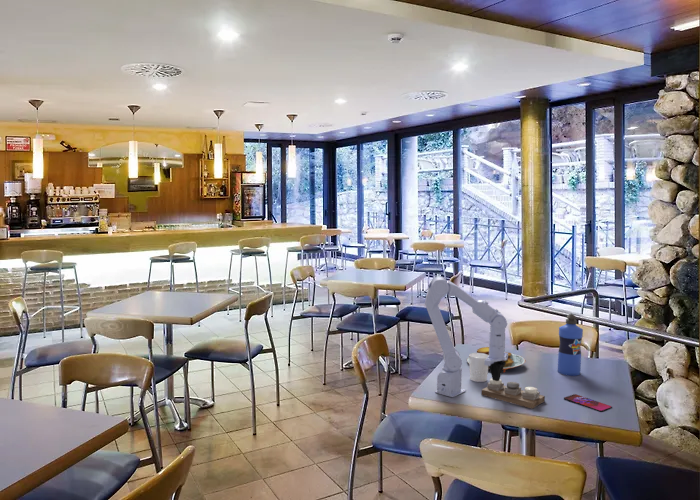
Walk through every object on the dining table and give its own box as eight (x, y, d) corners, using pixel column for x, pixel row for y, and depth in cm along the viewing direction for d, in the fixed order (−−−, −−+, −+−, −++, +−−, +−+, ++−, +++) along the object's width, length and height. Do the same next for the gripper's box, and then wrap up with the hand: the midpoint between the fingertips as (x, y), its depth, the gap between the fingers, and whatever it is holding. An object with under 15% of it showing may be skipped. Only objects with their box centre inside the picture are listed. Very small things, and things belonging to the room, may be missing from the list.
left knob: (498, 391, 207) (498, 382, 207) (487, 388, 210) (487, 380, 210) (503, 388, 211) (504, 379, 210) (493, 385, 214) (493, 377, 213)
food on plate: (517, 377, 231) (517, 362, 230) (459, 368, 243) (459, 353, 242) (530, 361, 253) (530, 347, 252) (476, 353, 265) (476, 340, 264)
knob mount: (532, 408, 196) (533, 393, 195) (481, 394, 209) (482, 380, 209) (544, 401, 203) (545, 386, 202) (494, 388, 216) (495, 374, 216)
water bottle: (585, 374, 234) (588, 315, 232) (568, 377, 231) (570, 317, 228) (569, 368, 243) (572, 311, 240) (552, 370, 239) (554, 313, 237)
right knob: (533, 400, 198) (534, 391, 198) (522, 397, 201) (522, 388, 201) (539, 397, 201) (539, 388, 201) (527, 394, 204) (528, 385, 204)
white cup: (466, 380, 225) (466, 356, 224) (471, 375, 232) (472, 351, 231) (485, 383, 222) (486, 359, 221) (490, 378, 228) (491, 354, 228)
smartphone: (601, 411, 193) (562, 397, 205) (600, 413, 193) (562, 400, 205) (613, 406, 197) (575, 393, 210) (613, 409, 197) (574, 396, 210)
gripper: (497, 350, 201) (496, 387, 202) (515, 343, 212) (514, 378, 213) (479, 347, 206) (478, 382, 207) (499, 339, 216) (497, 374, 218)
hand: (495, 380), depth 210 cm, fingers closed, pressing on left knob
